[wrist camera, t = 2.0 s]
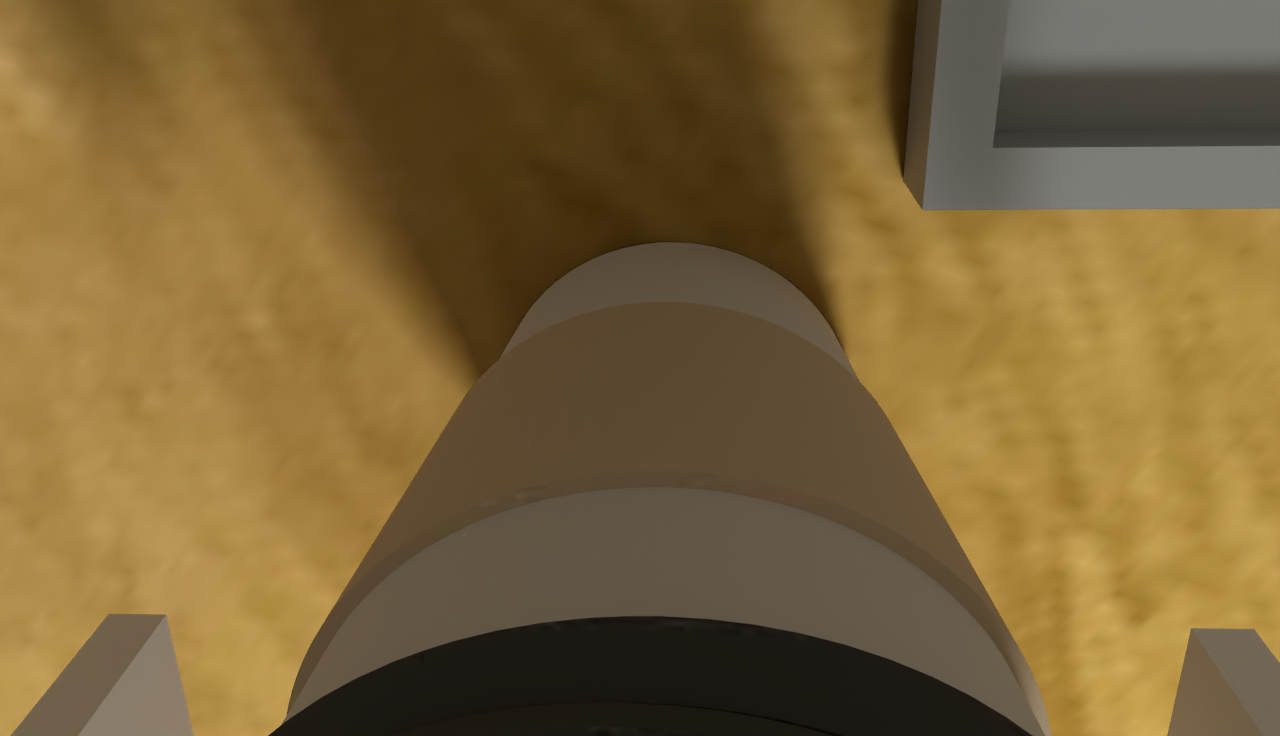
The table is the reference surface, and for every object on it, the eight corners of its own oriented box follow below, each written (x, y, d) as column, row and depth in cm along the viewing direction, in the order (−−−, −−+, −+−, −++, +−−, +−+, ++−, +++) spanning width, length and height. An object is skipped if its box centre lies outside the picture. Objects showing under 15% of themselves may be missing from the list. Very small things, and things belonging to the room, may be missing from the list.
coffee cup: (616, 78, 19) (412, 631, 5) (1011, 361, 21) (1626, 1317, 7) (363, 452, 22) (-167, 1391, 8) (724, 667, 24) (765, 1722, 10)
